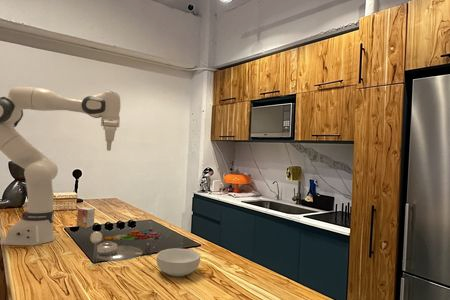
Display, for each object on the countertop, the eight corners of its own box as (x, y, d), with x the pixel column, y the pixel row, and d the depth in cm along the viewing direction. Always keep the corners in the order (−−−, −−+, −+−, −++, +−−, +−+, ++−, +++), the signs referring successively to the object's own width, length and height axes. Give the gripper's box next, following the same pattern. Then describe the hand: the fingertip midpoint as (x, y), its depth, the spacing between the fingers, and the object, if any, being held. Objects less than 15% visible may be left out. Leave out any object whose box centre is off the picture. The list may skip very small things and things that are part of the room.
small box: (76, 226, 185) (77, 208, 185) (83, 224, 190) (84, 206, 190) (86, 228, 182) (87, 209, 182) (94, 226, 187) (95, 208, 187)
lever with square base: (87, 268, 122) (89, 233, 122) (89, 263, 127) (91, 229, 127) (100, 268, 123) (101, 233, 123) (101, 263, 128) (103, 229, 128)
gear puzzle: (105, 248, 149) (105, 239, 149) (94, 239, 162) (94, 231, 162) (163, 238, 169) (164, 231, 170) (149, 232, 182) (150, 225, 182)
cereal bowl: (180, 285, 111) (181, 265, 111) (146, 274, 120) (147, 255, 120) (207, 271, 125) (208, 253, 125) (175, 262, 134) (176, 245, 134)
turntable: (91, 264, 125) (91, 250, 125) (97, 249, 145) (98, 236, 145) (151, 262, 132) (152, 248, 132) (149, 247, 151) (150, 235, 151)
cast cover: (95, 256, 131) (96, 245, 131) (98, 250, 139) (98, 239, 139) (116, 255, 134) (116, 244, 134) (117, 249, 141) (117, 239, 141)
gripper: (103, 124, 169) (102, 149, 169) (103, 121, 150) (101, 150, 150) (116, 125, 171) (114, 150, 171) (117, 122, 152) (115, 151, 152)
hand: (108, 150), depth 160 cm, fingers open, 8 cm apart
